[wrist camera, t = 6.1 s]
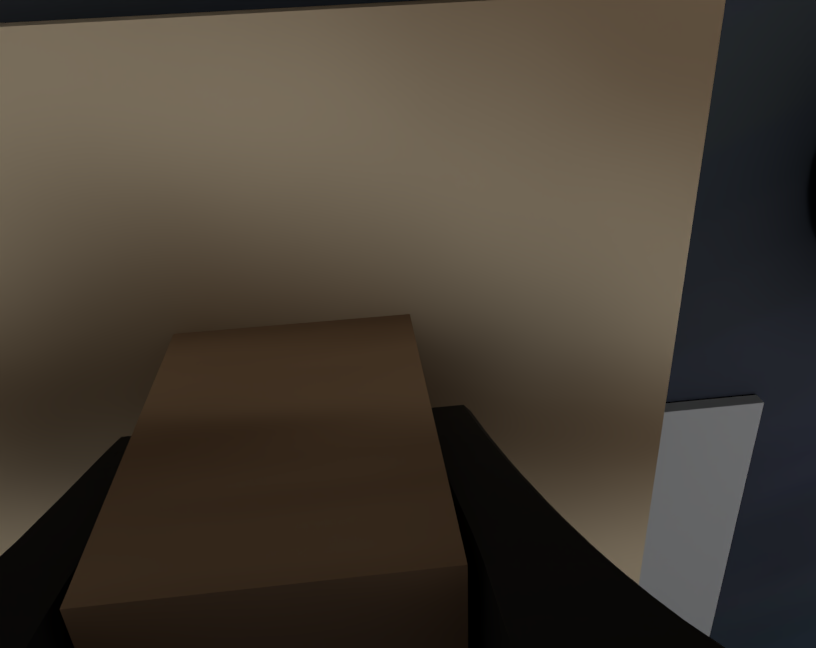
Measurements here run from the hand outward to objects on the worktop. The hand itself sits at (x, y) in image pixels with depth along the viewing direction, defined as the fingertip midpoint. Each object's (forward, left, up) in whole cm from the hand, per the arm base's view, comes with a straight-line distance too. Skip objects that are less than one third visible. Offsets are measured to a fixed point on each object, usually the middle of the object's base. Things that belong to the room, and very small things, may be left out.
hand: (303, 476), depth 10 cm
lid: (0, 0, -2) cm, 2 cm away
